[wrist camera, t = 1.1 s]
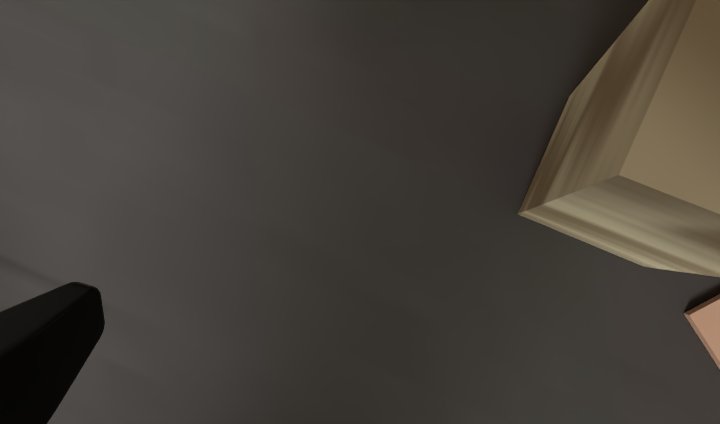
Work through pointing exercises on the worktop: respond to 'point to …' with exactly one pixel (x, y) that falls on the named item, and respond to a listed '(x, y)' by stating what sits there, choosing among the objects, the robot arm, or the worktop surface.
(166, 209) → the worktop surface
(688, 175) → the birch block
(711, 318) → the corner arena
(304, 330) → the worktop surface
